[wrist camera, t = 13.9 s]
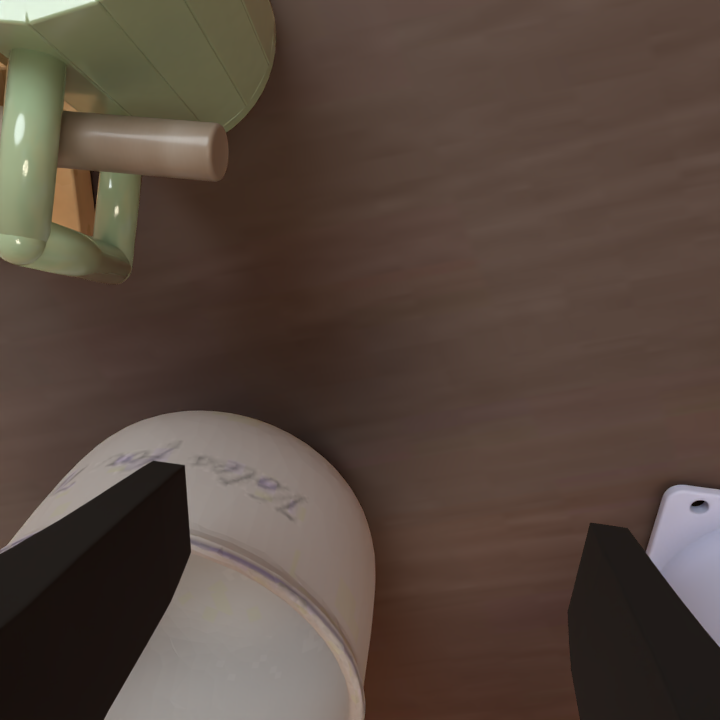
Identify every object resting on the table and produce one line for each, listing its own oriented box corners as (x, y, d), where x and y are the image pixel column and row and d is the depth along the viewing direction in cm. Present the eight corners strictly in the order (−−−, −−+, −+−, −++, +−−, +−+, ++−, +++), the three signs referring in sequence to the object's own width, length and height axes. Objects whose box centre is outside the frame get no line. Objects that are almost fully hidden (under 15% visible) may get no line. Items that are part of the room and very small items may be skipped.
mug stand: (312, 28, 17) (192, 26, 10) (307, 255, 20) (210, 379, 13) (-130, 1, 19) (-498, -15, 12) (-81, 216, 22) (-357, 307, 15)
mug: (65, -86, 17) (-158, -384, 10) (289, -64, 17) (219, -353, 10) (28, 278, 17) (-215, 234, 10) (247, 303, 17) (152, 275, 10)
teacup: (355, 347, 21) (288, 508, 14) (426, 611, 25) (403, 839, 18) (-18, 407, 25) (-222, 561, 17) (99, 631, 29) (-27, 829, 22)
